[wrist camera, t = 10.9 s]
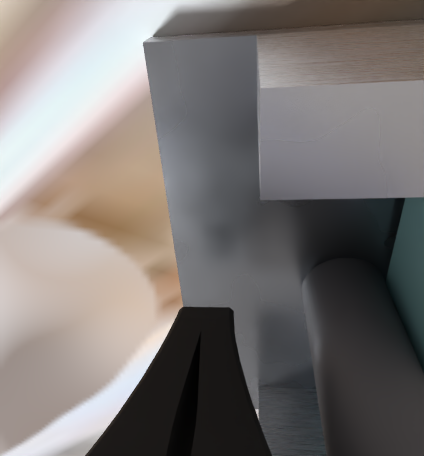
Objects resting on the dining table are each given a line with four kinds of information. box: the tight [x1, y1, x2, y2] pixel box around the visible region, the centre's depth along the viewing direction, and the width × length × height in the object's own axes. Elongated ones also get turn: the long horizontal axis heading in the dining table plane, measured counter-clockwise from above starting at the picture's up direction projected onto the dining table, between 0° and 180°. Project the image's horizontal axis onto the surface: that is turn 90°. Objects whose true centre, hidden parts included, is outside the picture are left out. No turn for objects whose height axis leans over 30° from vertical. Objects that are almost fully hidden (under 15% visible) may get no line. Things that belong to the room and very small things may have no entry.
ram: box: [301, 197, 424, 456], centre depth 9 cm, size 10×4×6 cm, turn 4°
